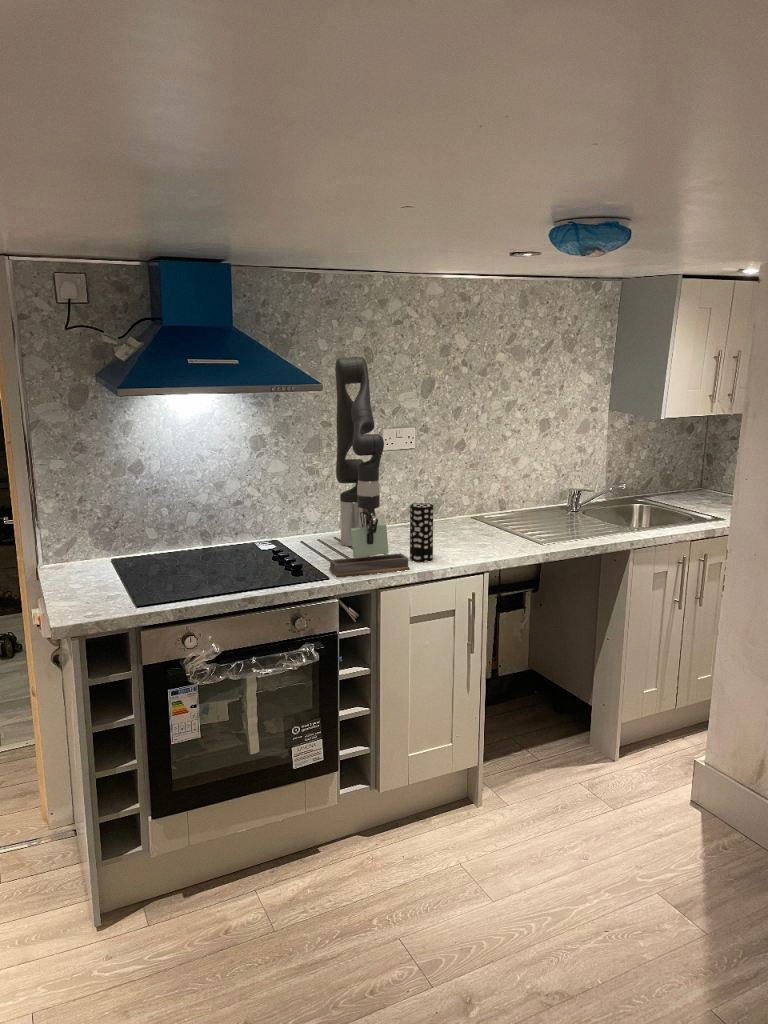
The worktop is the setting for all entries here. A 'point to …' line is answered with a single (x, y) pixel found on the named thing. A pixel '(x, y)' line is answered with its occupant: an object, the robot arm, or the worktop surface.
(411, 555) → the spotted tube
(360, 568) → the door track
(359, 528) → the door panel
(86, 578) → the worktop surface
